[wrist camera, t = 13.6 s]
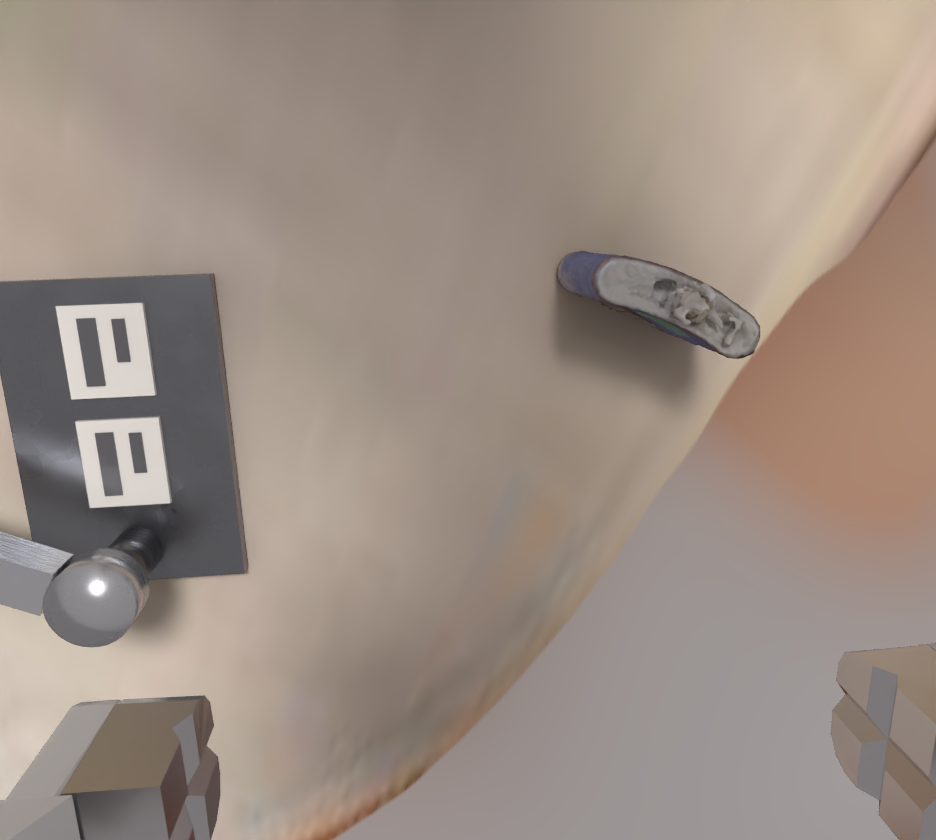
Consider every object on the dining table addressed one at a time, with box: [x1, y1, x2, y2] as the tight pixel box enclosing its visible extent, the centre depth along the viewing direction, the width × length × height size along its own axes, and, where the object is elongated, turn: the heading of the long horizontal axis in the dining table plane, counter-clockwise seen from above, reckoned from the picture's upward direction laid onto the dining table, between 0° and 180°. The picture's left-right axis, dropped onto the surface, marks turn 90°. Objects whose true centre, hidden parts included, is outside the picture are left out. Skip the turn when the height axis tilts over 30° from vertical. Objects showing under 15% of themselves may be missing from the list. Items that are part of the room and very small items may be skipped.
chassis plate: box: [0, 273, 248, 579], centre depth 42 cm, size 18×12×1 cm, turn 2°
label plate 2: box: [75, 416, 172, 508], centre depth 42 cm, size 5×5×1 cm
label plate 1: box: [55, 303, 157, 400], centre depth 40 cm, size 5×5×1 cm
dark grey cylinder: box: [108, 528, 163, 576], centre depth 41 cm, size 3×3×4 cm
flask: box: [557, 251, 760, 359], centre depth 38 cm, size 9×3×11 cm, turn 67°
